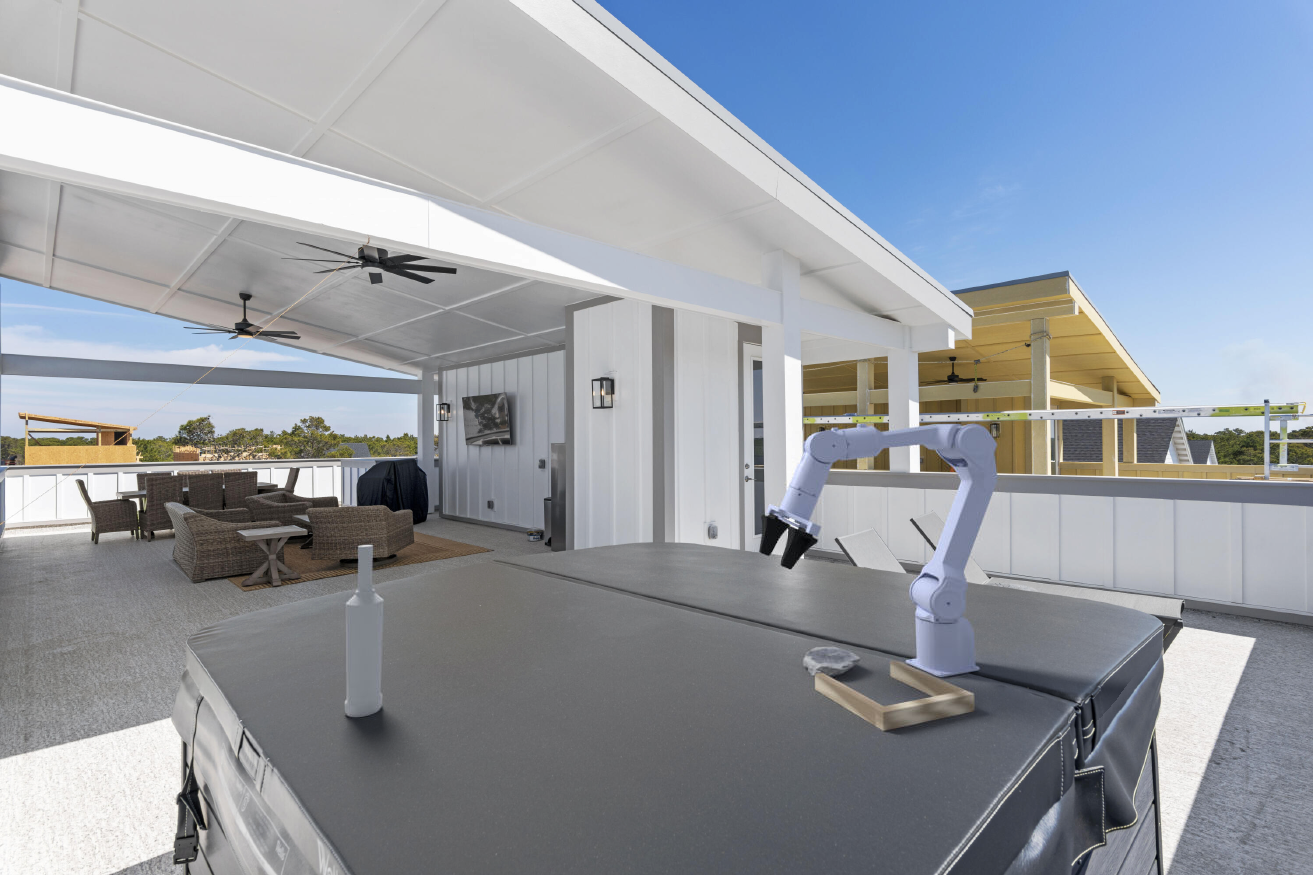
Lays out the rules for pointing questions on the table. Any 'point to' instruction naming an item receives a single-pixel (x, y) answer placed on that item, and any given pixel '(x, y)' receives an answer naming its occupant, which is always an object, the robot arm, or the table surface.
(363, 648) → the bottle
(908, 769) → the table surface
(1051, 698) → the table surface
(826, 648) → the fossil
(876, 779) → the table surface
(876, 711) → the bay
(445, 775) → the table surface
